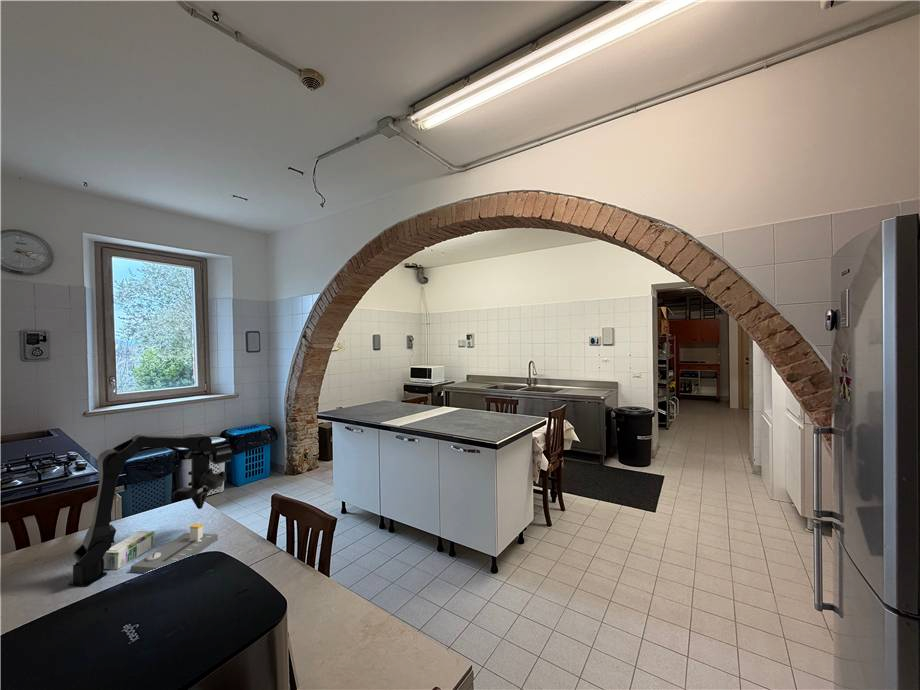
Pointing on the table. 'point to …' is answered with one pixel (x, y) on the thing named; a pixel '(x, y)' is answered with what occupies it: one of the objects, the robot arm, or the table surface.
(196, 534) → the fader
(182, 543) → the console
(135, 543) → the syrup box
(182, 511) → the table surface
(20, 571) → the table surface
